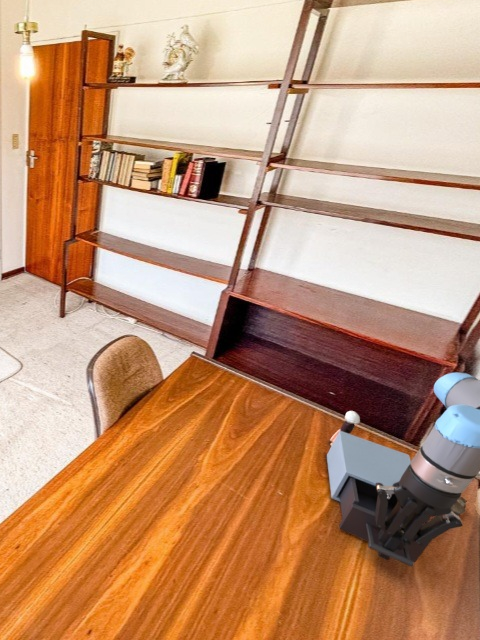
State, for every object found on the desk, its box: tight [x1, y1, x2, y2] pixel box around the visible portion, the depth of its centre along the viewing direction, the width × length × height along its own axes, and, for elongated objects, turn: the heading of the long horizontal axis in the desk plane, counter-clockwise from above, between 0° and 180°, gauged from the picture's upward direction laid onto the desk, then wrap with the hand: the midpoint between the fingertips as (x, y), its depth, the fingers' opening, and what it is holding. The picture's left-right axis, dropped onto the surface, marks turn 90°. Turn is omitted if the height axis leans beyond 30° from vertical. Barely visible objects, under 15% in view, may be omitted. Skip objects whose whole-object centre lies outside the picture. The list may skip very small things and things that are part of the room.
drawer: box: [338, 476, 433, 568], centre depth 90 cm, size 21×13×8 cm, turn 149°
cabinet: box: [326, 431, 412, 503], centre depth 100 cm, size 16×15×10 cm
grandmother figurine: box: [329, 410, 361, 447], centre depth 112 cm, size 8×4×13 cm, turn 130°
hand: (382, 552), depth 85 cm, fingers closed
